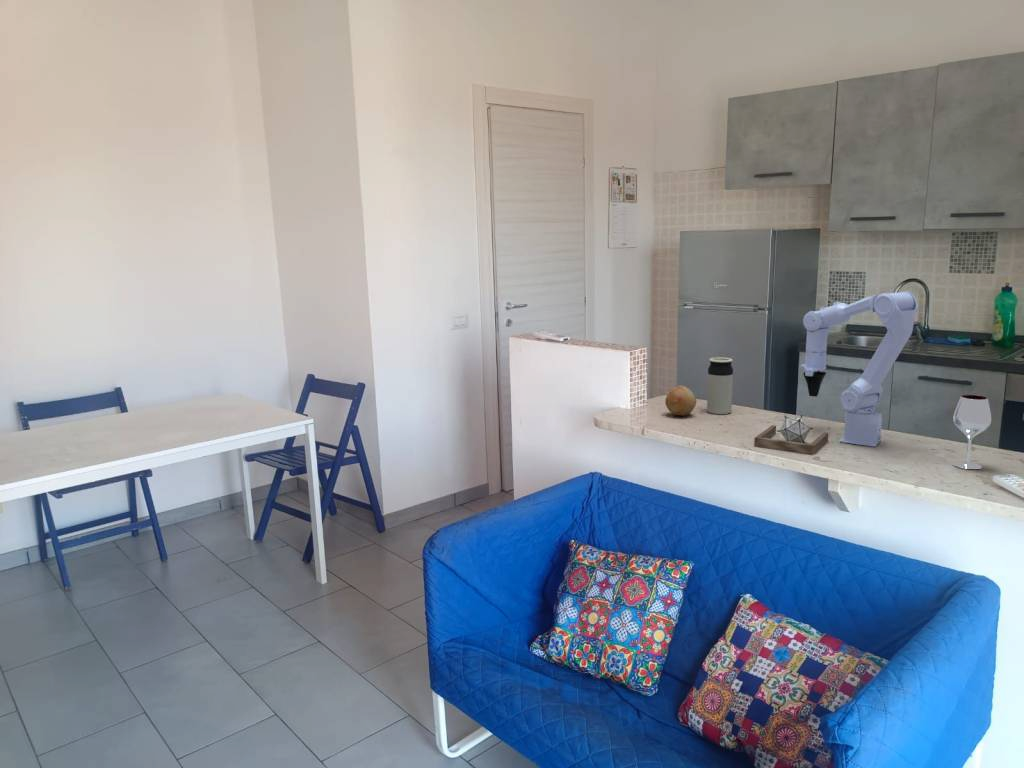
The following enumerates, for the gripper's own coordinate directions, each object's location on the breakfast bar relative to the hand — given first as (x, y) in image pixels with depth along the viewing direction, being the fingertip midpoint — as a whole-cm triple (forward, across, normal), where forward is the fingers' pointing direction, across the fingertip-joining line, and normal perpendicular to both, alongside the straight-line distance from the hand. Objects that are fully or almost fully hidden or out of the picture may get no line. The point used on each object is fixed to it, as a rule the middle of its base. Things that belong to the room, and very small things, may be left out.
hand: (813, 395), depth 228 cm
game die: (+11, +18, 0) cm, 21 cm away
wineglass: (+11, +18, +42) cm, 47 cm away
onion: (+11, +3, -41) cm, 42 cm away
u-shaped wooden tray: (+10, +19, -1) cm, 22 cm away
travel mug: (+11, -8, -32) cm, 34 cm away
